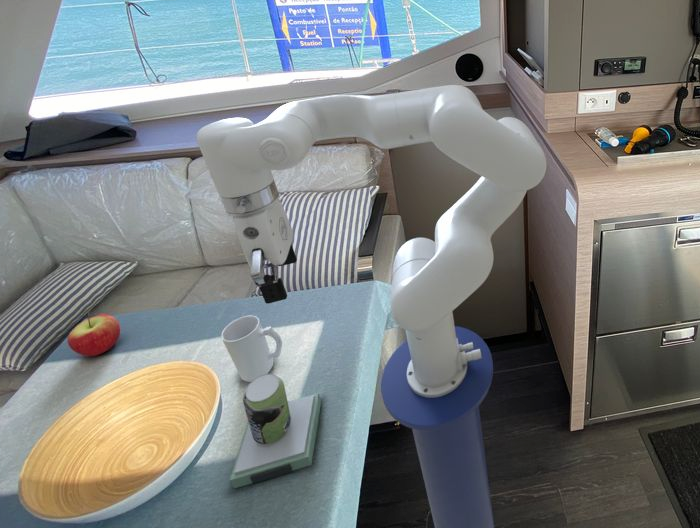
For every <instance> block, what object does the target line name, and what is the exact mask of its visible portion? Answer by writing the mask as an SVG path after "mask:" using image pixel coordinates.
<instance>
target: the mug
mask: <svg viewBox="0 0 700 528" xmlns="http://www.w3.org/2000/svg"><path fill="white" fill-rule="evenodd" d="M266 336H269V337H271V338H272V339H273V340H274V341H275V342H276V347H275V349H272V350H271V349H270V346H269V343H268V341H267V338H266ZM220 337H221V340H222V342H223V345H224V347H225V348H226V350H227V352H228V355H229V356H230V358H231V361H232V362H233V364H234V367H235V368H236V371H237V373H238V375H239V376H240V378H241V380H242V381H244V382H246V383H251V382H252V381H253V380H254V379H255V378H257V377H259V376H261V375H263V374H269V372H270V371H271V370H272V368H273V366H274V359H277V358H279V357H280V356H281V352H282V348H283V340H282V337H281V336H280V335H279V333H278V332H277V331H276V330H274V329H273V327H272V326H266V327H264V328H263V327H262V324H261V322H260V319H259V317H258V316H256V315H245V316H241V317H238V318H236V319H234V320H232V321H231V322H229V324H227V325H226V326H225V327H224V328H223V330H222V332H221V334H220Z"/></svg>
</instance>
